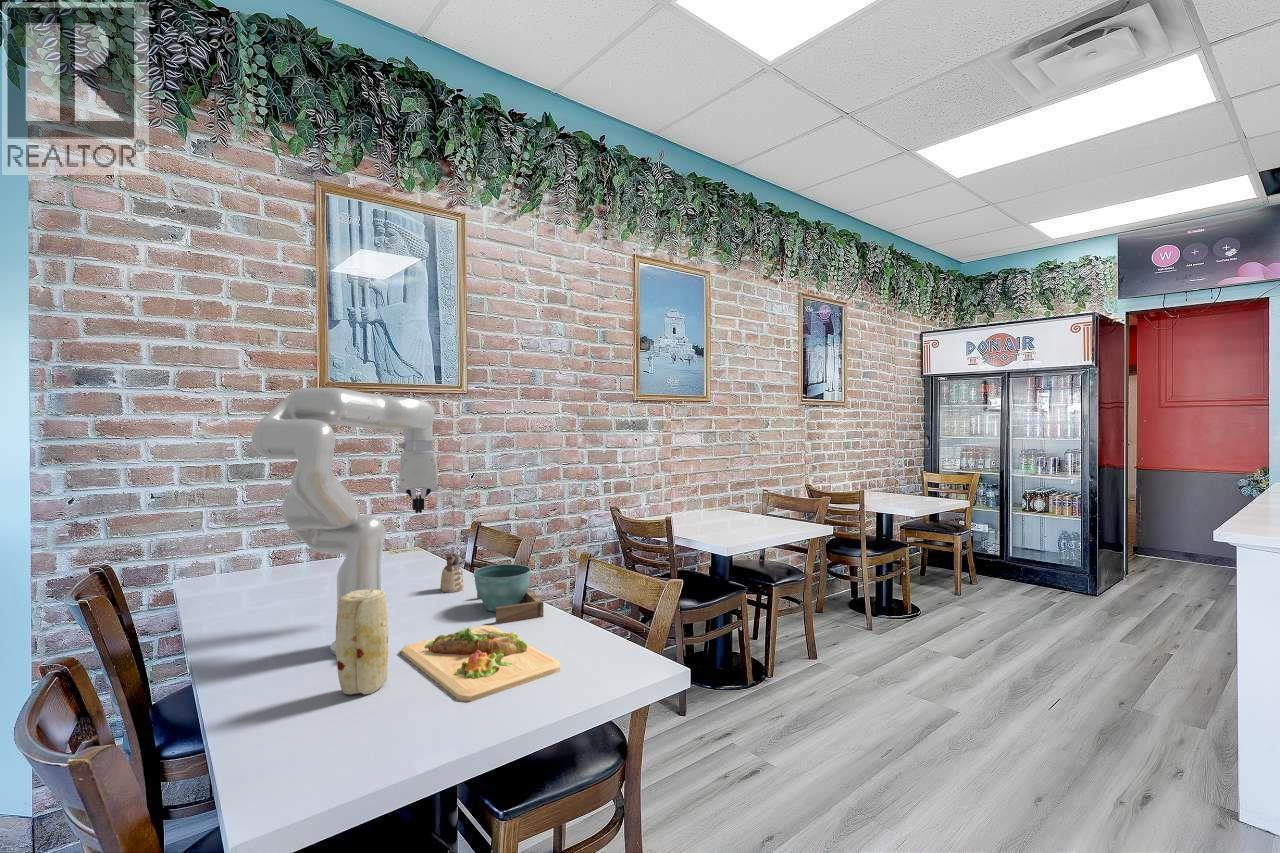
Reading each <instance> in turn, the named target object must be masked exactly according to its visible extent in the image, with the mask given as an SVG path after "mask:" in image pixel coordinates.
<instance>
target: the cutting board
mask: <svg viewBox="0 0 1280 853" xmlns="http://www.w3.org/2000/svg"><path fill="white" fill-rule="evenodd" d="M400 650H401V651H400V652H401V653H400V654H401V656H403V657H404V658H406V659H407V661H409V662H410V661H411V662H410V663H411V664H413V665H414V666H416V667H417V668H418V669H419V670H420V671H422V672H423V673H424V672H425V673H424V674H425V675H427V676H428V675H429V676H430V678H431V679H432V680H433V679H434V680H435V681H434V680H433V681H434V682H435V683H437V682H438V683H439V684H438V683H437V684H438V685H440V686H441V687H442V688H443V689H445V690H446V691H447V692H448V693H449V694H451V695H452V696H453V697H455V698H456V699H457V700H458V701H465V702H474V701H478V700H481V699H483V698H486V697H489V696H492V695H495V694H498V693H500V692H503V691H507V690H509V689H510V690H511V689H514V688H515V687H520V686H521V685H524V684H528V683H530V682H533V681H536V680H540V679H543V678H545V677H548V676H550V675H554V674H557V673H560V672H561V661H559V660H558V659H555V658H554V657H552V656H550V655H548V654H546V653H544V652H543V651H540V650H539V649H537V648H535V647H533V646H531V645H529V644H527V643H526V642H525V641H524V640H521V639H520V637H519V636H518V634H517V633H515V632H510V633H508V632H504V631H503V630H501V629H499V628H497V627H496V626H493V625H488V624H487V625H485V624H484V625H481V626H476V627H471V626H470V627H467V628H465V627H463V628H462V629H461V630H459V631H456V632H453V633H449V634H445V635H444V634H439V636H437V637H433V638H429V639H424V640H421V641H417V642H414V643H410V644H405V645H403V647H402V648H401V649H400ZM429 676H428V677H429Z"/></svg>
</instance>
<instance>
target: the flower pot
mask: <svg viewBox="0 0 1280 853" xmlns="http://www.w3.org/2000/svg"><path fill="white" fill-rule="evenodd" d="M531 569H532V568H531V567H529V566H527V565H523V564H511V563H510V564H505V563H504V564H494V565H489V566H484V567H480V568H477V569H476V570H474V571H473V577H474V584H475V589H476V593H477V592H478V595H479V597H480V598H481V599H480V600H481V601H482V602H483V604H484V605H485V609H486V610H487V611H489V612H495V613H496V607H501V606H508V605H515V604H521V602H522V601H521V600H522V599H523V597H524V595H525V594H526V591H527V589H529V585H530V579H531V571H532V570H531Z"/></svg>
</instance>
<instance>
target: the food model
mask: <svg viewBox="0 0 1280 853" xmlns="http://www.w3.org/2000/svg"><path fill="white" fill-rule="evenodd" d="M335 625H336V626H335V641H336V655H335V656H336V668H337V675H338V676H337V677H338V681H339V685H340V688H341V692H342V693H343V694H345V695H355V694H362V695H370V694H373V693H375V692H377V691H378V690H379V689H380V688H382V687H383V686H384V684H385V683H386V682H387V680H388V676H389V675H388V674H389V673H388V666H389V664H388V662H389V660H388V659H389V619H388V609H387V598H386V593H385V592H384V591H383V590H381V591H380V590H357V591H353V592H350V593H348V594H346V595H344V596H342V597H341V598H340V599H339V601H338V609H337V608H336V624H335Z"/></svg>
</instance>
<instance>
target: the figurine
mask: <svg viewBox="0 0 1280 853" xmlns="http://www.w3.org/2000/svg"><path fill="white" fill-rule="evenodd" d="M463 590H465V582H464V576H463V569H462V568H461V564H460V555H458V553H456V552H449V553H448V554H447V555H446V566H445V567H443V569H442V572H441V577H440V591H441V593H448V594H449V593H450V594H451V593H453V594H454V593H458V592H462V591H463Z"/></svg>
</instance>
